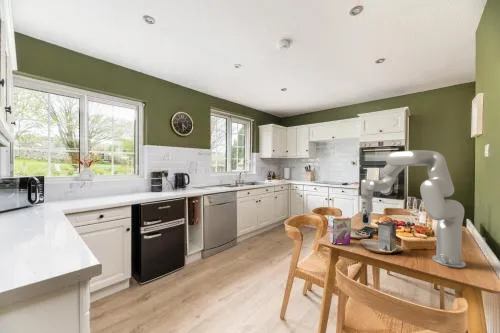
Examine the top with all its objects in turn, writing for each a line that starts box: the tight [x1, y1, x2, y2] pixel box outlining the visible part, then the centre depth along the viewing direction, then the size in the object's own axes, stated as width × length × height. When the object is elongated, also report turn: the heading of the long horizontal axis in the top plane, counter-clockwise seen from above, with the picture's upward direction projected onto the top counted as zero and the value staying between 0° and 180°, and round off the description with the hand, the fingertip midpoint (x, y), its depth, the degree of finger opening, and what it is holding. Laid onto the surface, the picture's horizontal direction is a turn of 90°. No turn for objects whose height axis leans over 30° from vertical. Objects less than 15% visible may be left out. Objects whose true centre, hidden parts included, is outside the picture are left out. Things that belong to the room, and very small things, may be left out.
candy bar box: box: [329, 216, 352, 245], centre depth 140 cm, size 11×5×16 cm, turn 91°
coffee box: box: [377, 220, 397, 251], centre depth 128 cm, size 9×6×16 cm
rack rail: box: [357, 225, 377, 235], centre depth 161 cm, size 20×8×2 cm, turn 135°
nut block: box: [361, 213, 372, 227], centre depth 161 cm, size 4×4×8 cm
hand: (366, 221), depth 161 cm, fingers closed on nut block, 4 cm apart
